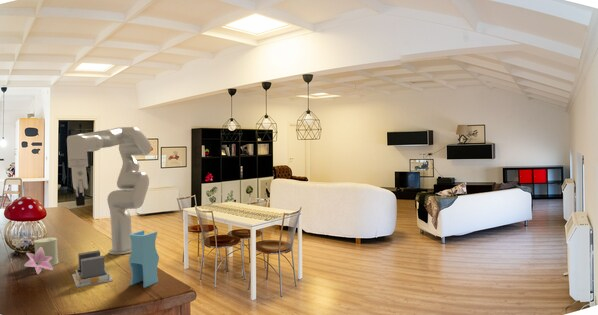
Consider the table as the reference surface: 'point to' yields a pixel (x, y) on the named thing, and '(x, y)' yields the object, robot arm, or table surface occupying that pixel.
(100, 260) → the panel
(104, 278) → the rack
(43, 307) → the table surface
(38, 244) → the can
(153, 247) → the blue tall curved block
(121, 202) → the robot arm
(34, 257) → the lily
